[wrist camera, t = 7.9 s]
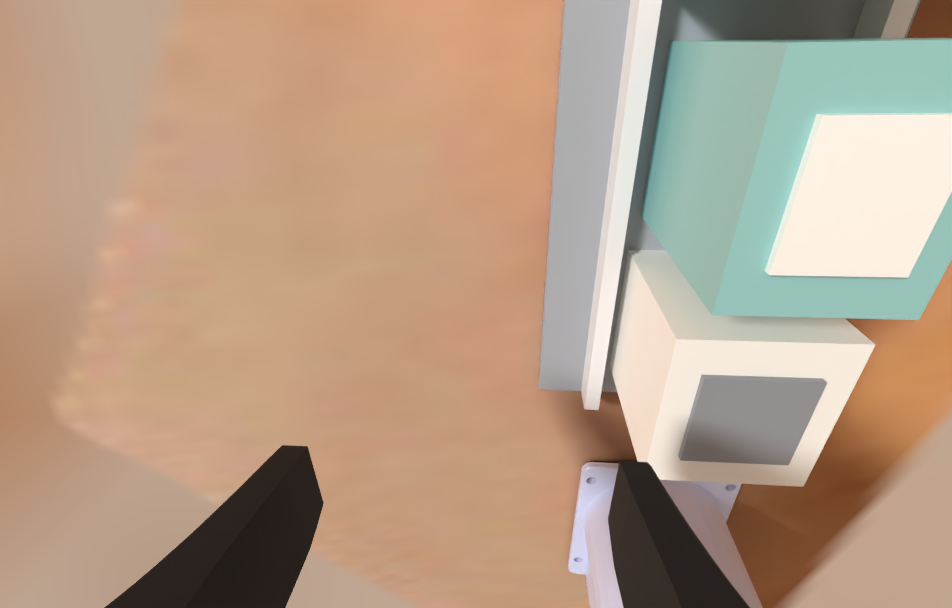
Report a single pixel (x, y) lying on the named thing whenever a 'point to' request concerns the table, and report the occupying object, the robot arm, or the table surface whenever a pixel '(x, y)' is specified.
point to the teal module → (806, 174)
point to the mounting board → (593, 133)
